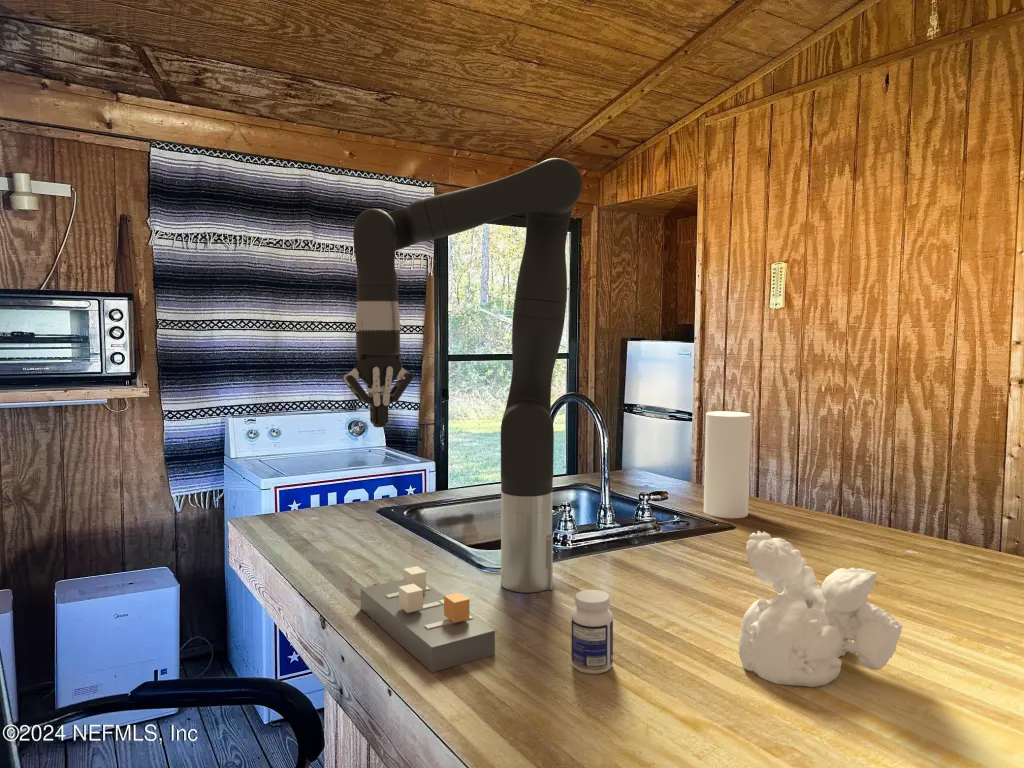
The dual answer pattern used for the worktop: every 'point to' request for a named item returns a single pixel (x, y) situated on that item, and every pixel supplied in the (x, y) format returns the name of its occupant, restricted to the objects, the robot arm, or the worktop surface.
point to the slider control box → (428, 627)
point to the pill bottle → (592, 632)
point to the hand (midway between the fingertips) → (379, 426)
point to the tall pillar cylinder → (727, 464)
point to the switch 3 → (456, 607)
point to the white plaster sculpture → (810, 619)
